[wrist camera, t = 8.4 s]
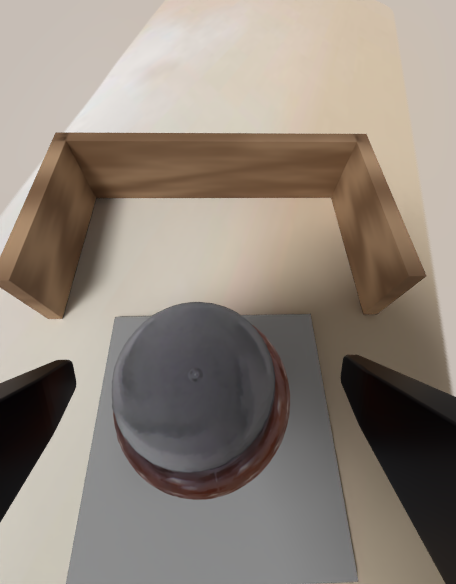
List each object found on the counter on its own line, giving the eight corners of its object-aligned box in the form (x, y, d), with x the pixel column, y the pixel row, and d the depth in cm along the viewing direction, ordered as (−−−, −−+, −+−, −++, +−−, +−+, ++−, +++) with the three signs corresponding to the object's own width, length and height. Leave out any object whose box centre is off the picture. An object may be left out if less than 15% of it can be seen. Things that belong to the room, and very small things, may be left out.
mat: (354, 577, 13) (358, 582, 13) (68, 589, 13) (64, 593, 13) (308, 316, 20) (310, 314, 20) (116, 318, 19) (115, 316, 19)
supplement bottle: (238, 347, 18) (258, 243, 8) (278, 440, 16) (377, 453, 6) (151, 381, 17) (52, 309, 7) (180, 487, 15) (88, 606, 5)
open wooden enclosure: (376, 314, 20) (426, 276, 15) (48, 318, 19) (-11, 280, 15) (339, 189, 26) (366, 133, 21) (87, 190, 25) (55, 132, 21)
